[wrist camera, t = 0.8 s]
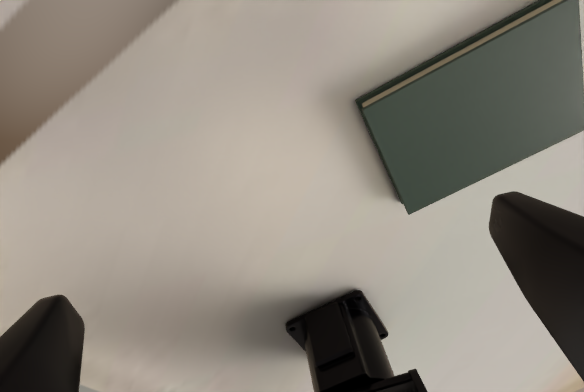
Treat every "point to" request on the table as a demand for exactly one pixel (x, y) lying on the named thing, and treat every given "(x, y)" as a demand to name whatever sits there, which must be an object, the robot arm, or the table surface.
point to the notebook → (481, 104)
